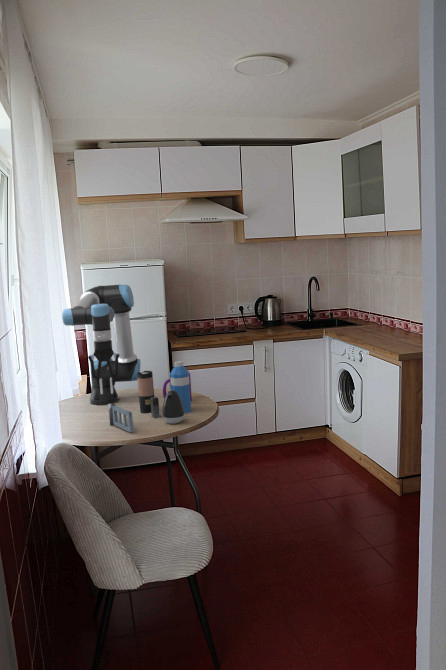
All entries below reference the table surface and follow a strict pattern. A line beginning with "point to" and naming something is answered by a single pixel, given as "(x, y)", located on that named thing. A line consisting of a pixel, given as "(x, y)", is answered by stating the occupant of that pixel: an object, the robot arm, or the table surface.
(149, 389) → the travel mug
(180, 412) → the pump dispenser
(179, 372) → the water bottle
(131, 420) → the gate
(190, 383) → the mug
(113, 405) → the hinge post
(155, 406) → the latch post
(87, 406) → the table surface
